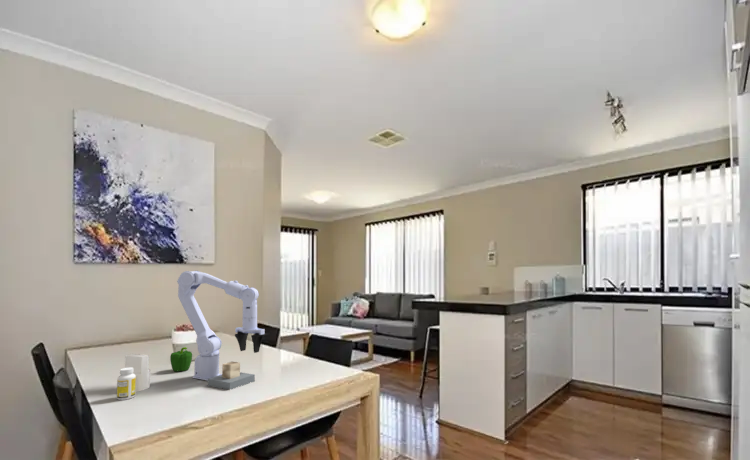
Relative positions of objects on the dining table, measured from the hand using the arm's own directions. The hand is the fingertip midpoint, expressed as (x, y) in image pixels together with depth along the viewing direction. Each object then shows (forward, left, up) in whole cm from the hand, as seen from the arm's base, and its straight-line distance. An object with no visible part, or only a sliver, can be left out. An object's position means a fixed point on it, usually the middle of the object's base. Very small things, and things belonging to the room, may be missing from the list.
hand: (249, 351), depth 163 cm
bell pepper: (-35, -6, -10) cm, 37 cm away
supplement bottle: (-19, -38, -10) cm, 44 cm away
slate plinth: (+1, -10, -10) cm, 14 cm away
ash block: (+1, -10, -7) cm, 13 cm away
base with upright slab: (-27, -30, -10) cm, 42 cm away
